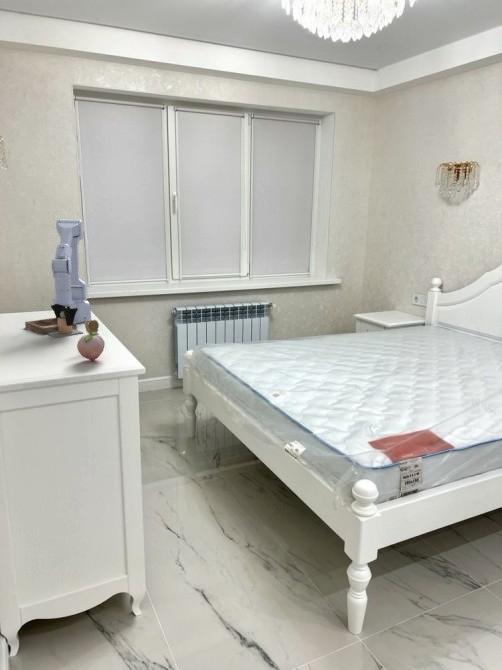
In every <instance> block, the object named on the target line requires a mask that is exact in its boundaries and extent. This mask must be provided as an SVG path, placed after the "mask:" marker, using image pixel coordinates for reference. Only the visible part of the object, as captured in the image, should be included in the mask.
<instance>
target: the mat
mask: <svg viewBox="0 0 502 670" xmlns="http://www.w3.org/2000/svg"><path fill="white" fill-rule="evenodd" d="M72 332H73V333H71V334H59V332H53V333H48V334H47V335H49V336H51V337H53V338H57V339H58V338H65V337H69V336H75V335H81V334H84V332H83V331H80V330H78V329H76V330H75V329H72Z"/></svg>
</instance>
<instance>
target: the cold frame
mask: <svg viewBox="0 0 502 670" xmlns="http://www.w3.org/2000/svg"><path fill="white" fill-rule="evenodd" d="M24 325H25V327H24V328H25V329H28V330H29V331H33V332H36V333H38V334H41V335H48V333H53V332H58V322H57V319H56V317H52V318H42V319H35V320H29V321H28V320H27V321H24ZM49 325H50V326H49ZM53 325H54V326H53ZM44 326H45V327H44ZM46 326H47V327H46ZM72 329H75V330H78V329H77V323H73V325H72Z"/></svg>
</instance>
